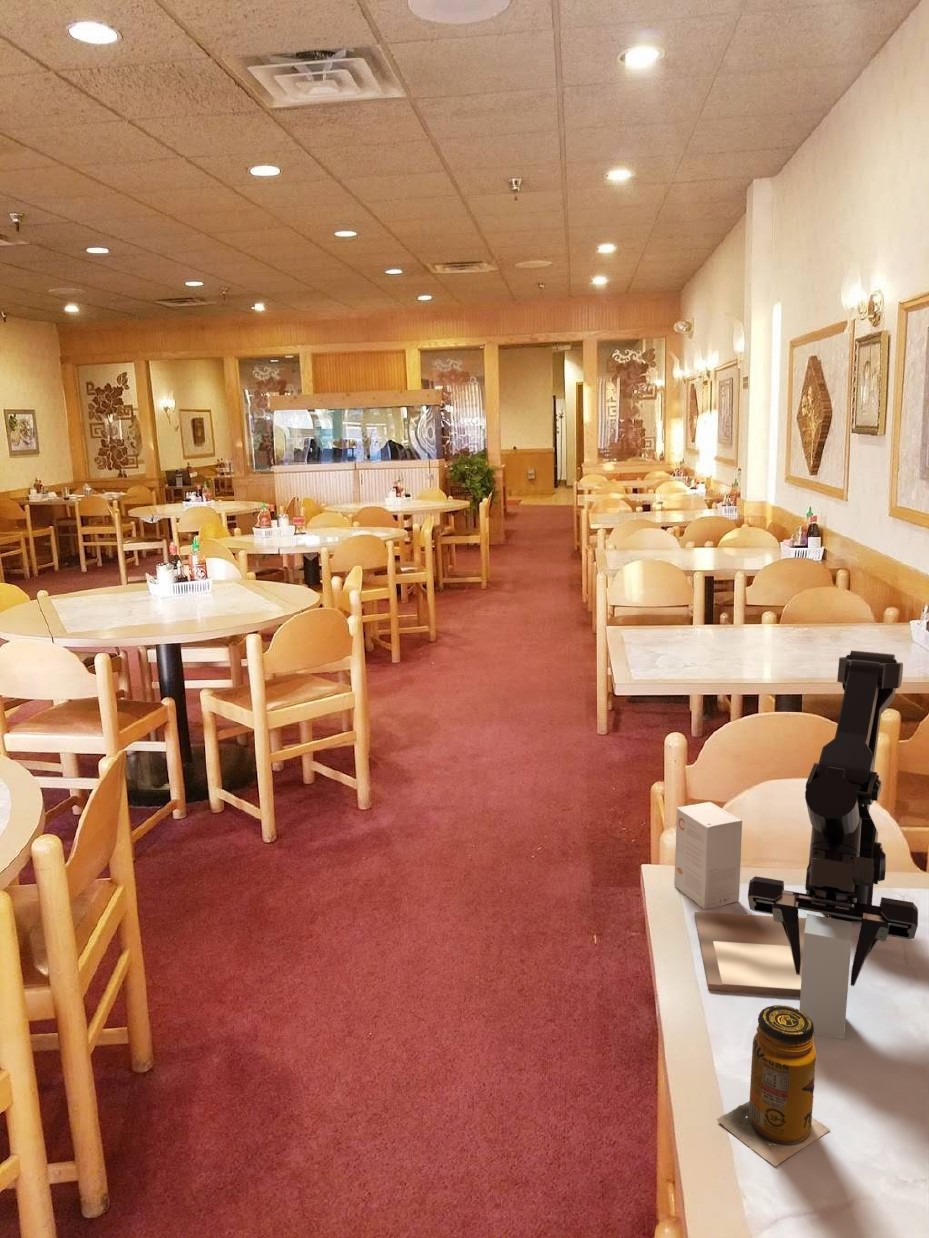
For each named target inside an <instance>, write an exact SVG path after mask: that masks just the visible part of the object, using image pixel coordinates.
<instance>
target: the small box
mask: <svg viewBox="0 0 929 1238" xmlns="http://www.w3.org/2000/svg"><path fill="white" fill-rule="evenodd" d="M675 823H676V824H675V825H676V828H675V851H674V855H675V856H674V857H675V858H674V880H673V886H674V887H675V888H677V890H679V891H680V892H682V893H683V894H684V895H685V896H687V897H688V898H689V899H690V900H692V901H694V902H695V903H696V904H697V905H698V906H700V907H701V908H702V909H704V910H707V909H713V908H717V907H720V906H726V905H728V904H732V903H737V902H740V887H741V884H740V883H741V882H740V881H741V862H742V861H741V860H742V859H741V855H742V837H743V835H742V834H743V833H742V832H743V831H742V830H743V820H742V819H740V818H738V817H737V816H735V815H733V814H731V813H730V812H728V811H726V810H725V809H723V808H721V806H718V805H716V804H715V803H713V802H711V801H708V802H706V801H705V802H702V803H696V804H690V805H685V806H684V805H682V806H678V807H676V822H675Z"/></svg>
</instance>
